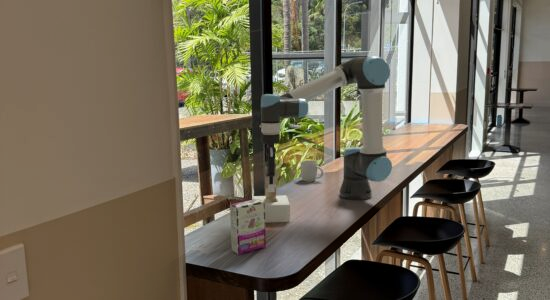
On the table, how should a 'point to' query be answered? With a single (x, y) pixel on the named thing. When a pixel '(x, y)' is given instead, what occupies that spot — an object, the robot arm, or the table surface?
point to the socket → (276, 209)
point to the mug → (310, 171)
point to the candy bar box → (247, 226)
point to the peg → (269, 195)
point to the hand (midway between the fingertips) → (270, 190)
